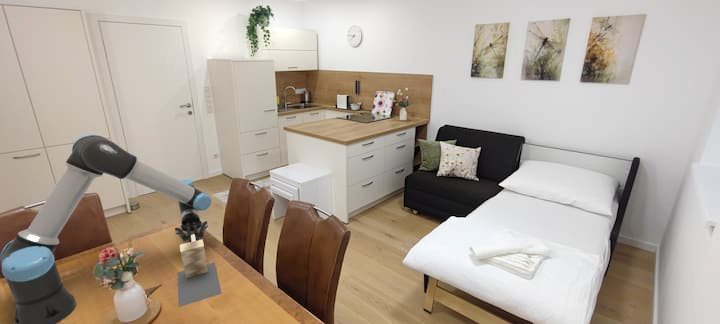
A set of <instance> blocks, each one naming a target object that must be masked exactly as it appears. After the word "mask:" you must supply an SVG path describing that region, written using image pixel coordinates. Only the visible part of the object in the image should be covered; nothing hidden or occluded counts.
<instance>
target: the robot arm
mask: <svg viewBox="0 0 720 324" xmlns="http://www.w3.org/2000/svg"><path fill="white" fill-rule="evenodd" d="M71 152H72V153H70V155H69V156H68V157H67V159H66V161H65V164H66V167H67V168H66V170H65V172H64V174H63V175H62V177H61V178H60V179H59V181H58V183H57V184H56V186H55V187H54V189H53V190H52V192H51V193H50V194H49V196H48V198H47V199H46V200H45V202H44V204H43V205H42V207H41V208H40V209H39V211H38V213H37V214H36V215H35V217H34V218H33V220H32V222H31V223H30V225H29V226H28V228H26V229H23V230H21V231H19V232H17V234H16V235H15V237H14V239H13V240H10V241H9V242H7V244H6V245H5V246H4V248H3V249H2V251H1V253H0V263H1V273H2V275H3V277H4V278H5V282H6V283H7V285H8V288H9V290H10V292H11V295H12V298H13V300H14V303H15V310H14V313H15V314H14V324H56V323H58V322H60V321H62V320H63V319H65V318H67V316H69V315H70V314H71V313H72V312H74V309H75V308H76V306H77V301H76V299H75V296H74V295H73V294H71V293H70V292H69V290H68V289H67V288H65V287H64V285H63V281H62V279H61V275H60V273H59V270H58V269H59V268H58V267H57V264H56V262H55V254H54V252H55V250H56V248H57V247H58V245H59V244H60V240H59V237H58V236H59V234H60V233H61V232H62V230H63V228H64V227H65V225H66V224H67V223H68V221H69V219H70V218H71V217H72V216H71V215H72V214H73V213H74V211H75V209H76V208H77V207H78V205H79V203H80V202H81V201H82V199H83V197H84V196H85V194H86V192H87V191H88V189H89V188H90V186H91V185H92V183H93V181H94V180H95V179H96V178H99V177H102V176H103V175H104V174H106V175H109V176H112V177H114V178H117V179H120V180H125V179H127V180H129V181H131V182H134V183H137V184H139V185H141V186H142V187H143V186H144V187H146V188H148V189H149V190H150V189H151V190H153V191H155V192H158V193H159V194H162V195H164V196H167V197H170V198H171V199H173V200H176V201H177V202H178V206H179V213H180V220H181V225H180V227H175V228H174V231H175V234H176V235H177V236H179V237H180V239H182V241H183V242H187V243H189V242H193V241H197V240H200V238H203V237H204V235H205V233H206V230H207V228H208V227H209V224H208V221H207V220H206V221H204V222H202V221H201V217H200V213H199V211H202V212H203V211H207V210H208V209H209V208H210V206H211V205H212V202H213V201H212V197H211V196H210V195H208V193H206V192H203V191H201V190H199V189H197V188H196V187H195V184H194V181H193V180H192V179H182V180H178V179H177V178H174V177H172V176H170V175H168V174H166V173H165V172H163V171H160V170H159V169H156V168H154V167H152V166H150V165H149V164H146V163H144V162H141V161H139V160H138V157H137V156H135V155H133V154H131V153H129V151H126V150H125V149H123V148H122V147H121V146H119V145H118V144H117V143H116V142H114V141H111V140H110V139H108V138H106V137H104V136H101V135H96V134H87V135H84V136H83V135H82V136H81V137H79V138H78V139H76V140H75V142H74V143H73V145H72V148H71ZM198 230H199V232H198ZM185 232H186V233H187V234H185ZM192 232H194V234H192Z"/></svg>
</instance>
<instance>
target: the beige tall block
mask: <svg viewBox="0 0 720 324" xmlns="http://www.w3.org/2000/svg"><path fill="white" fill-rule="evenodd" d="M179 251H180V257H181V260H182V265H183V269H184V270H185V275H186V278H188V277H192V276H195V275H199V274H202V273H206V272H208V267H207V264H208V263H207V256H206V250H205V244H204V240H203V239H199V240H197V241H193V242H185V243H181V244H179ZM184 270H183V271H184Z"/></svg>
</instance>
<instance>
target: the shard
mask: <svg viewBox="0 0 720 324" xmlns="http://www.w3.org/2000/svg"><path fill="white" fill-rule="evenodd" d="M162 286H163V284H162V283H161V284H159V285H155V286H152V287H148V288H145V289H143V290H144V291H145V293H146V295H147V299H149V297H151V296H152V295H153V294H155V292H156V291H157V290H158V289H159V288H160V287H162Z"/></svg>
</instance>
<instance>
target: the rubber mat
mask: <svg viewBox="0 0 720 324" xmlns="http://www.w3.org/2000/svg"><path fill="white" fill-rule="evenodd" d="M207 267H208V272H206V273H202V274H199V275H195V276H192V277H188V278H186V275H185V270H181V271H177V275H176V276H177V299H178V300H177V301H178V302H177V303H178V308H180V307H181V308H182V307H185V306H187V305H189V304H193V303H196V302H199V301H203V300H205V299H209V298H211V297H215V296H219V295H221V294H222V293H223V292H222V289H221V285H220V280H219V275H218V271H217V266H216V262H215V261H214V262H211V263H207Z"/></svg>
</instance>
